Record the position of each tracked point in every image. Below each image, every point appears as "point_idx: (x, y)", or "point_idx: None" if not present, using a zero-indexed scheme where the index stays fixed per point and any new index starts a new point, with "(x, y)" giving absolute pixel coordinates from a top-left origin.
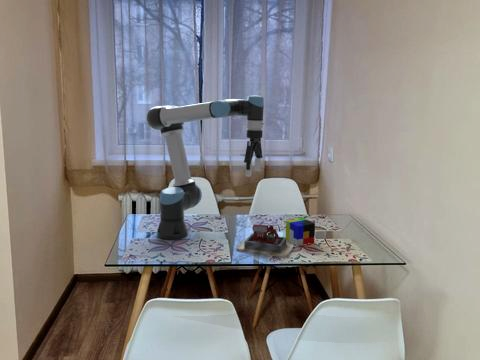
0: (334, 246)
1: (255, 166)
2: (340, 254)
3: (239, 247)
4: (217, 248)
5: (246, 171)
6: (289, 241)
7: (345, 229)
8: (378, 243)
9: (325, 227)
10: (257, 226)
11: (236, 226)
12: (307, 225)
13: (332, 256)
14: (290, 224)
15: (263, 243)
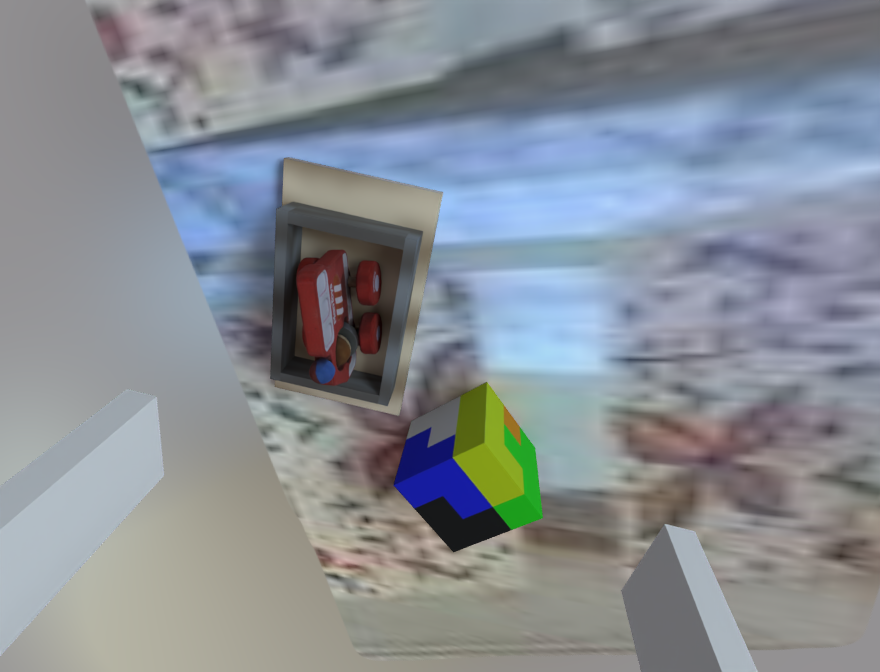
0: (436, 535)
1: (689, 631)
2: (361, 538)
3: (300, 174)
4: (284, 36)
5: (46, 468)
6: (459, 397)
7: None
8: (489, 644)
9: None
10: (300, 300)
11: (716, 95)
12: (427, 520)
13: (336, 515)
14: (449, 452)
15: (278, 307)
